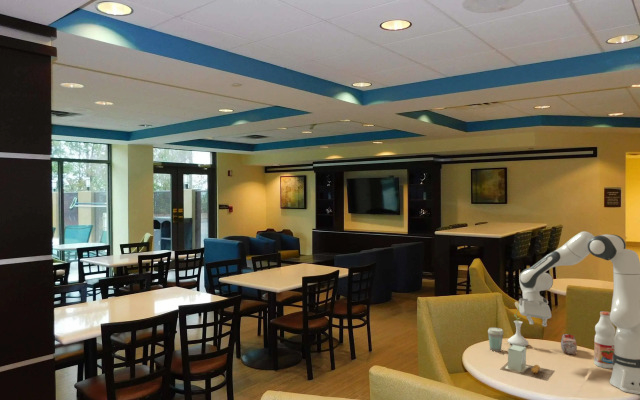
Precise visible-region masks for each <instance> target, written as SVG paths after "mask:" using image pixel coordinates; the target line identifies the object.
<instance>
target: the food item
mask: <svg viewBox="0 0 640 400" xmlns="http://www.w3.org/2000/svg"><path fill="white" fill-rule="evenodd" d="M560 340H561V341H560V347H561V350H562V353H563V354H565V355H572V356H576V355H577V350H578V349H577V348H578V346H577V340H576V337H575V336H574V335H573V334H569V333H563V334H562V336H561V339H560Z"/></svg>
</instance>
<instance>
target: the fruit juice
mask: <svg viewBox="0 0 640 400" xmlns="http://www.w3.org/2000/svg"><path fill="white" fill-rule="evenodd" d="M610 313H611V311H603V310H602V311H600V312H599V315H600V317H599V320H598V322H597V323H596V324H595V326H594V331H595V335H594V341H593V342H594V347H593V348H594V349H593V350H594V351H593V353H594V354H593V357H594V358H593V363H594V365H595V366H597V367H599V368H603V369H613V353H614V337H615V334H616V328H615V327H616V326H615V325H614V324H613V323H612V322H611V320H610Z"/></svg>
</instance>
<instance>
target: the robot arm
mask: <svg viewBox="0 0 640 400" xmlns="http://www.w3.org/2000/svg"><path fill="white" fill-rule="evenodd" d="M589 255H593V256H594V257H595V258H598V259H602V260H605V261H610V262H611V263H612V276H613V280H612V281H613V293H612V297H611V298H612V300H611V309H610V320H611V322H612V324H613V326H614V327H616V329H615V335H614V353H613V368H612V372H611V376H610V379H609V384H611V385H612V386H614V387H615V388H617V389H620V390H621V391H622V392H625V393H629V394H635V395H640V257H639V255H638V253H637V252H636V251H634V250H632V249H627V245H626V241H625V239H624V238H623V237H621V236H619V235H617V234H607V233H606V234H599V235H594V234H593V233H591V232H588V231H580V232H579V233H577V234H576V235H574V236H572V237H571V238H570V239H569V240H568V241H566V242H565V243H564V244H563V245H562V246H560V247H559V248H557V249H555V250H553V251H551V252H550V253H548V254H546V255H545V256H543V257H542V258H541V259H540V260H538V261H537V262H536V263H534V264H533V265H532V266H530V267H528V268H525V269H523V270H522V271H520V273H519V275H518V276H519V277H518V278H519V279H518V280H519V285H520V286H519V287H520V289H521V292H522V294H521V295H522V297H520V298H518V299H519V300H518V303H519V310H520V311H519V310H518V311H519V313H520V315H521V316H523V317H524V316H525V317H526V319H527V320H528V323H529V325H535V321H534V320H533V319H532V318H536V319H541V321H542V323H541V326H542V327H547V326H548V324H547V322H548V320H549V319H551V318H552V312H551V308H550V305H548V304H549V301H548V299H547V298H544V296H542V295H541V294H540V292H543V291H548V290H551V288H553V284H554V279H553V276H552V275H551V274H549V272H547V271H549V270H550V269H552V268H555V267H559V266H562V267H563V266H574V265H577V264H579V263H581V262H582V261H583V260H584V259H585V258H586V257H588V256H589Z"/></svg>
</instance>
